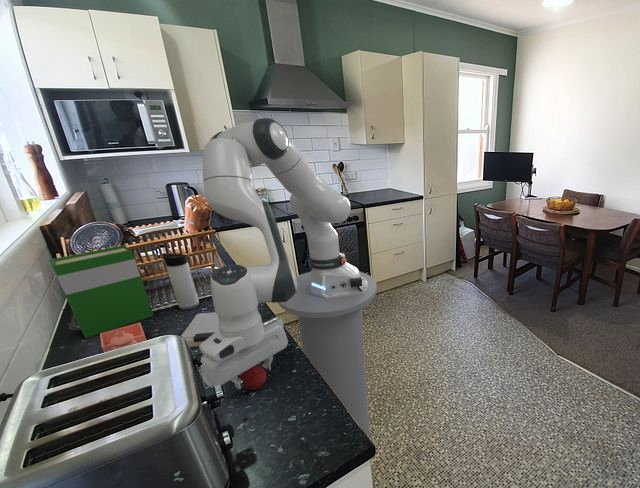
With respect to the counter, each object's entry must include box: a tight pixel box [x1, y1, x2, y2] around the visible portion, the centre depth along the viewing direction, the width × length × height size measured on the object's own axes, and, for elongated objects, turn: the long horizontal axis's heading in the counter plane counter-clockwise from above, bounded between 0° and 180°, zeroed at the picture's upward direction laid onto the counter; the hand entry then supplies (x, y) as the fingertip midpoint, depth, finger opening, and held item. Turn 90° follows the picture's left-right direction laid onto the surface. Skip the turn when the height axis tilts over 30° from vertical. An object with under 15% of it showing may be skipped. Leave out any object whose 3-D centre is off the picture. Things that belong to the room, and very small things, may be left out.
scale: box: [180, 311, 219, 348], centre depth 111 cm, size 16×16×3 cm
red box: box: [99, 321, 147, 353], centre depth 98 cm, size 18×10×10 cm, turn 43°
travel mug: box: [162, 253, 200, 311], centre depth 121 cm, size 6×7×20 cm
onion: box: [240, 364, 267, 391], centre depth 87 cm, size 6×6×8 cm
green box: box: [48, 244, 155, 339], centre depth 110 cm, size 18×7×24 cm, turn 141°
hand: (253, 378), depth 87 cm, fingers closed on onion, 6 cm apart
